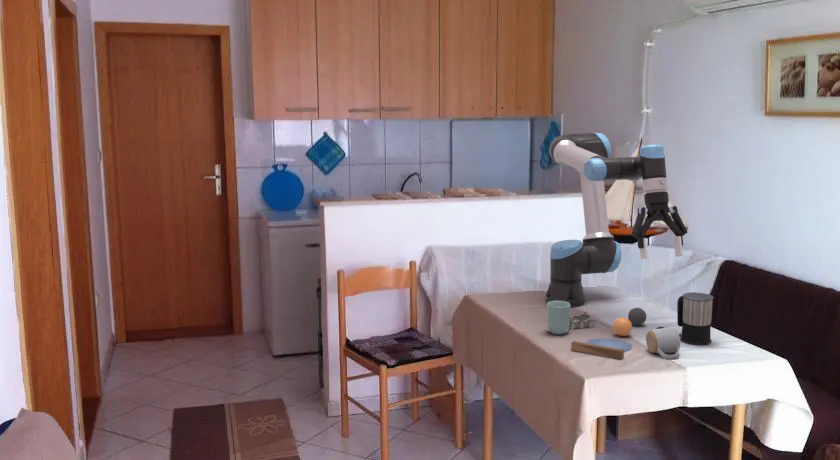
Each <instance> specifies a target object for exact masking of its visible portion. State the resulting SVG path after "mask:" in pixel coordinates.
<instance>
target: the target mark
mask: <svg viewBox="0 0 840 460" xmlns="http://www.w3.org/2000/svg"><path fill="white" fill-rule="evenodd" d="M585 343H589V344H594V345H600V346H606V347H611V348H617V349H623V350H624V353H625V352H629V351H630V350H631V349H632V347H633V345H632V344H631V343H630V342H628V341H626V340H622V339H618V338H611V337H610V338H609V337H602V338H601V337H599V338H593V339H590V340H587V341H586V342H585Z"/></svg>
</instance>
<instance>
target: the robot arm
mask: <svg viewBox="0 0 840 460" xmlns="http://www.w3.org/2000/svg"><path fill="white" fill-rule="evenodd" d="M548 151H549V155H550V158H551V159H552V161H554V162H555V163H557V164H559V165H560V166H569V167H572V168H574V169H575V170H576V171H577V172H578V173H579V174H580V175H579V176H580V185H581V194H582V205H583V208H582V209H583V215H584V217H583V218H584V226H585V227H584V229H585V235H584V237H583V238H582V241H581V240H578V239H565V240H559V241H557V242H554V244H552V245H551V247H550V255H549V260H550V261H549V262H550V265H549V266H550V269H549V270H550V276H549V277H550V278H549V279H550V280H549V281H550V282H549V285H548V287H547V290H546V293H545V297H544V298H545V300H544V301H545V303H546V304H547V303H548V302H550V301H566V302H569V303H570V307H571V308H572V307H573V308H574V307H580V306H581V307H582V306H584V305H585V304H586V303H587V296H586V293H585V289H584V287H583V283H582V276H583V275H590V274H591V275H594V274H607V273H612V272H613V273H614V272H615V271H616V270H617V269H618V268H619V266H620V264H621V261H622V248H621V246H620V244H619V242H617V241H615V239H614V238H615V237H614V235H612V234H611V233H610V230H609V219H608V212H607V210H608V209H607V201H606V199H607V198H606V191H605V188H606V187H605V182H604V181H621V180H622V181H623V180H627V181H629V182H630V181H639V180H641V179H642V190H643V193H645V194H644V195H643V197H644V198H643V199H644V204H645V207H644V206H643V207H637V216H636V219H635V222H634V225H633V228H632V231H631V234H630V235H631V237H632V238H634V239H636V241H637V248H638V249H639V252H640V260H645V259H649V255H648V245H647V244H648V243H647V237H645V236H646V234H647V232H648V231H649V229H650V227H651V225H652V224H653V222H661V221H662V222H664V223H665V224H666V226H667V227H668V228H669V229H670V231H671V232H672V233H673V235H675V236H673V243H674V244H673V245H674V255H675V257H683V253H684V252H683V245H684V239H683V237H684V236H685V235H687V234H688V229H687V228H686V226H685V224H684V222H683V219H682V218H681V216H680V213H679V212H678V211H679V210H678V207H677V206H676V205H673V206H669V203H670V202H669V201H670V200H669V192H667V191H668V178H667V168H666V165H667V164H666V155H665V150H664V146H663V145H662V144H657V143H655V144H647V145H643V146H641V147H640V149H639V155H637V156H626V157H624V156H623V157H622V156H621V157H620V156H619V157H611V155H612V147H611V144H610V141H609V139H608V137H607V136H606V135H605V134H603V133H600V132H579V133H578V132H577V133H569V132H568V133H563V134H560V135H558V136H557V137H556V138H554V139H553V140H552V142H551V143H550V146H549V150H548ZM646 215H647V216H646Z"/></svg>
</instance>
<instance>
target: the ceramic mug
mask: <svg viewBox="0 0 840 460" xmlns="http://www.w3.org/2000/svg"><path fill="white" fill-rule="evenodd" d="M679 335H680V334H679V331H678V330H677V328H676V327H674V326H668V327H666V328H660V329H656V328H654V329H651V330H648V331H647V333H646V334H645V345H646V347H647V349H648V350H649V352H650V353H652V354H659V355H660V356H661V358H663V359H667V360H674V359H676V358H678V355H679V353H680V349H681V339H680V338H681V337H680V336H679ZM669 353H671V354H669ZM672 353H675V354H672Z"/></svg>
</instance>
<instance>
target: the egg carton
mask: <svg viewBox="0 0 840 460" xmlns="http://www.w3.org/2000/svg"><path fill="white" fill-rule="evenodd" d="M595 322H596V319H595V318H593V317H591V316H590V314H588V313H587V311H582V312H581V311H580V312H578V313H577V314H574V315H570V325H569V329H568V330H574V329H584V328H589V327H591V328H593V327H594V326H595V325H594V323H595Z"/></svg>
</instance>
